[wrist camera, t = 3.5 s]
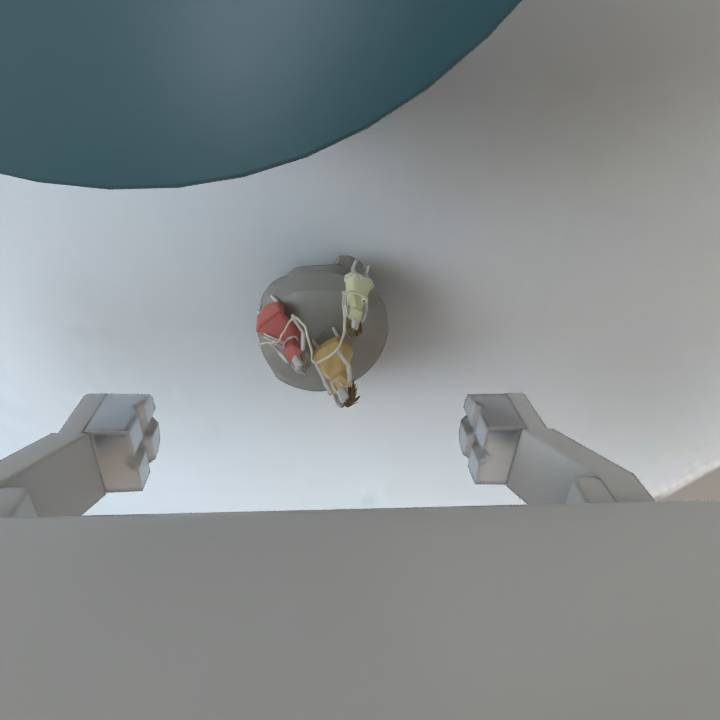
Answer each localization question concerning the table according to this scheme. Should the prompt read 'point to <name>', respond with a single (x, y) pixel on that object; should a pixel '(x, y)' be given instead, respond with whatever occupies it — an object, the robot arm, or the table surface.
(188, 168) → the pot lid
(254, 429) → the table surface
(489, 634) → the robot arm
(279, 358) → the figurine
